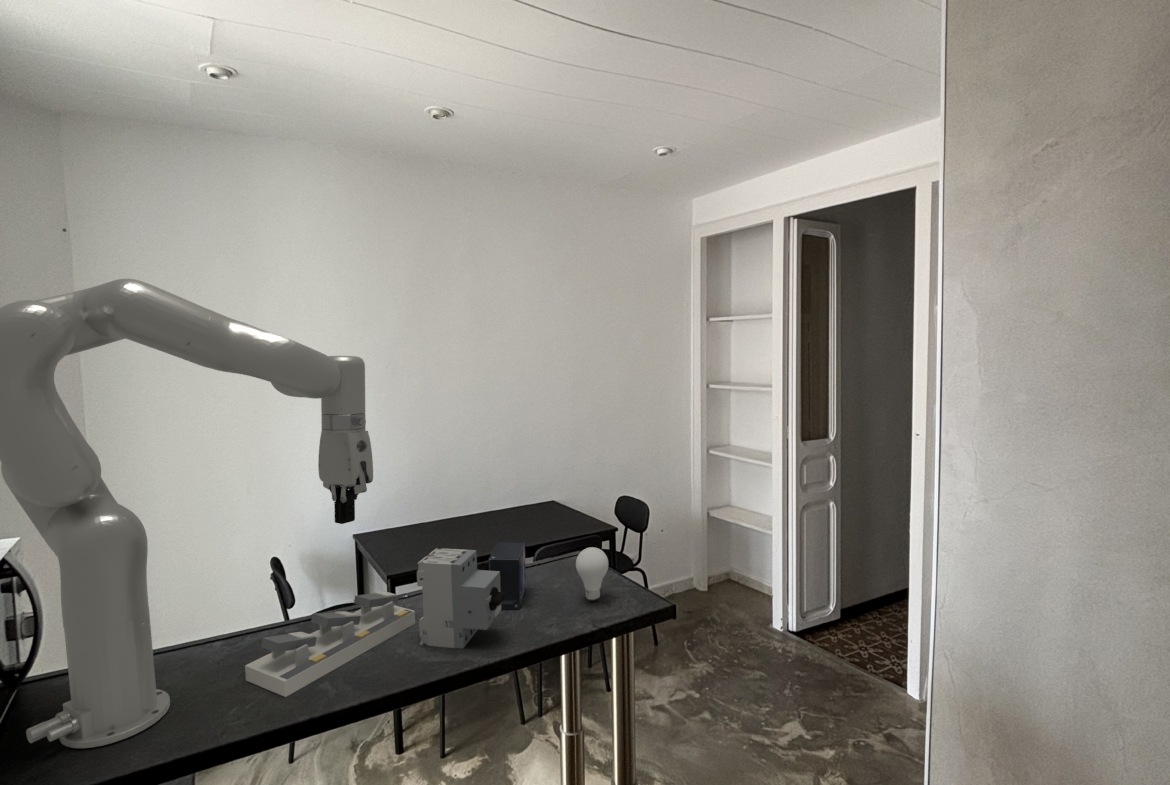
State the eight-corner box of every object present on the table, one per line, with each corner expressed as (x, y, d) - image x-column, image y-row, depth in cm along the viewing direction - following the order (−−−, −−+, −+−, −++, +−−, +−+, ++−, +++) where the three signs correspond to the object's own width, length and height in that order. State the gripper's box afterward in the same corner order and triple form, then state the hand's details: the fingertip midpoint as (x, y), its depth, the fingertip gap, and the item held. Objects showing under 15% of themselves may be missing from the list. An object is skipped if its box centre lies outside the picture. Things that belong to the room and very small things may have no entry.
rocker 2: (326, 627, 102) (328, 617, 102) (310, 622, 104) (313, 612, 104) (358, 624, 108) (360, 615, 108) (343, 619, 110) (345, 610, 110)
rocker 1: (276, 652, 94) (278, 641, 94) (260, 646, 96) (262, 636, 96) (315, 646, 100) (316, 636, 100) (299, 640, 102) (301, 630, 102)
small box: (521, 610, 121) (519, 558, 120) (488, 610, 121) (486, 559, 120) (527, 588, 131) (525, 541, 130) (497, 589, 131) (495, 541, 130)
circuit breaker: (496, 651, 105) (493, 566, 103) (420, 645, 108) (416, 562, 106) (510, 631, 112) (508, 551, 111) (438, 625, 115) (435, 548, 114)
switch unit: (285, 697, 92) (283, 663, 92) (246, 680, 97) (243, 648, 97) (415, 623, 116) (414, 596, 115) (378, 613, 121) (376, 587, 120)
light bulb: (579, 593, 128) (578, 542, 127) (610, 594, 127) (609, 543, 126) (574, 607, 121) (573, 553, 120) (607, 608, 120) (606, 554, 120)
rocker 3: (369, 607, 110) (370, 598, 110) (353, 603, 112) (355, 594, 112) (397, 603, 116) (399, 594, 116) (382, 599, 118) (384, 590, 118)
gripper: (388, 423, 111) (389, 523, 112) (334, 419, 119) (335, 512, 119) (354, 427, 105) (355, 532, 106) (299, 422, 112) (301, 520, 113)
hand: (344, 521), depth 113 cm, fingers closed
